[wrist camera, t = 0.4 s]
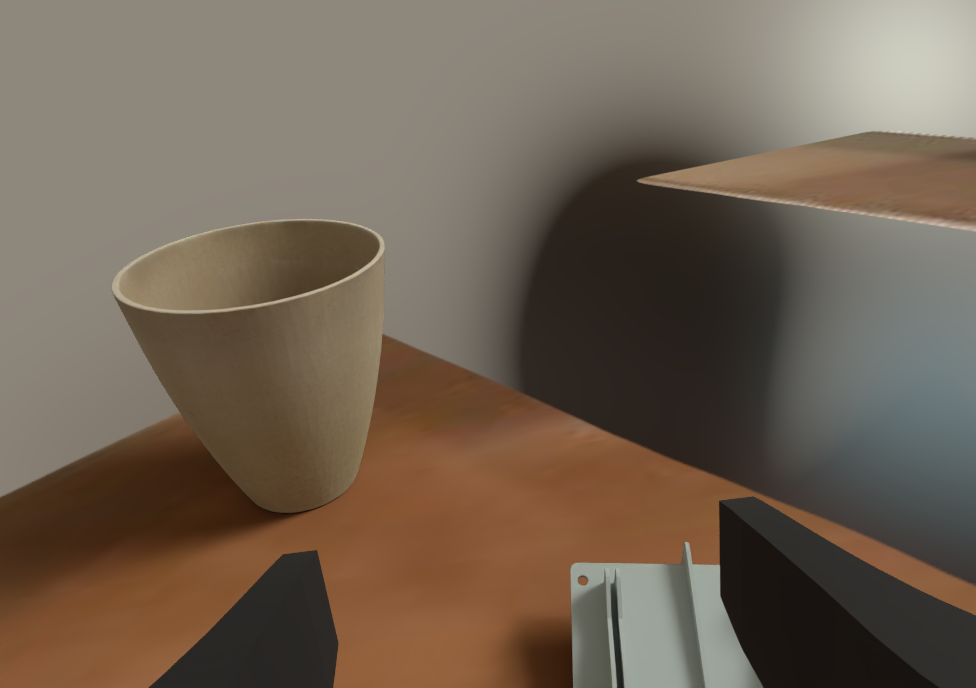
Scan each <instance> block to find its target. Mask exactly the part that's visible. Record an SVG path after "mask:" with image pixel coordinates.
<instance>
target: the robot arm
mask: <svg viewBox="0 0 976 688" xmlns="http://www.w3.org/2000/svg"><path fill="white" fill-rule="evenodd" d="M719 518H720V597H721V600H722V602H723V605H724V607H725V610H726V612H727V614H728V617H729V619H730V622H731V624H732V627H733V629H734V632H735V634H736V636H737V639H738V641H739V643H740V646H741V648H742V650H743V652H744V654H745V655H746V657H747V659H748V661H749V663H750V664H751V666H752V668H753V670H754V672H755V673H756V675H757V677H758V679H759V680H760V682H761V684H762V686H763V687H764V688H976V616H975V615H973V614H971V613H969V612H966V611H964V610H962V609H959V608H957V607H955V606H953V605H950V604H948V603H946V602H944V601H941V600H939V599H937V598H935V597H933V596H931V595H928V594H926V593H924V592H922V591H920V590H918V589H916V588H914V587H912V586H910V585H908V584H906V583H904V582H902V581H900V580H898V579H897V578H895V577H893V576H891V575H889V574H887V573H885V572H883V571H881V570H879V569H877V568H875V567H874V566H872V565H870V564H868V563H866V562H864V561H863V560H861V559H859V558H857V557H855V556H854V555H852V554H850V553H848V552H847V551H845V550H843V549H842V548H840V547H838V546H836V545H835V544H833V543H831V542H830V541H828V540H826V539H824V538H823V537H821V536H819V535H818V534H816V533H814V532H813V531H811V530H809V529H808V528H806V527H805V526H803V525H801V524H800V523H798V522H796V521H795V520H793V519H791V518H790V517H788V516H786V515H785V514H783V513H781V512H780V511H778V510H777V509H775V508H773V507H771V506H770V505H768V504H766V503H765V502H763V501H761V500H759V499H757V498H755V497H746V498H737V499H729V500H721V501H719ZM337 651H338V640H337V635H336V631H335V627H334V622H333V618H332V614H331V609H330V605H329V600H328V596H327V592H326V587H325V583H324V579H323V574H322V570H321V566H320V561H319V557H318V553H317V550H315V551H307V552H299V553H291V554H283V555H282V556H281V557H280V558H279V559H278V560H277V561H276V562H275V563H274V564H273V565H272V566H271V567H270V568H269V569H268V570H267V571H266V572H265V573H264V574H263V575H262V576H261V577H260V579H259V580H258V581H257V582H256V583H255V584H254V585H253V586H252V587H251V588H250V589H249V590H248V591H247V592H246V593H245V594H244V596H243V597H242V598H241V599H240V600H239V601H238V602H237V603H236V604H235V605H234V606H233V607H232V608H231V609H230V610H229V611H228V612H227V613H226V614H225V615H224V616H223V617H222V618H221V619H220V620H219V621H218V623H217V624H216V625H215V626H214V627H213V628H212V629H211V630H210V631H209V632H208V633H207V634H206V635H205V636H204V637H202V638H201V639H200V640H199V641H198V642H197V643H196V644H195V645H194V646H193V647H192V648H191V649H190V650H189V651H188V652H187V653H186V654H185V655H184V656H182V657H181V658H180V659H179V660H178V661H177V662H176V663H175V664H174V665H173V666H172V667H171V668H170V669H169V670H168V671H167V672H166V673H165V674H164V675H162V676H161V677H160V678H159V679H158V680H157V681H156V682H154V683H153V684H152V685H151V686H150V687H149V688H333V683H334V676H335V668H336V659H337Z"/></svg>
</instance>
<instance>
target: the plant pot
mask: <svg viewBox="0 0 976 688" xmlns="http://www.w3.org/2000/svg"><path fill="white" fill-rule="evenodd" d="M384 263H385V244H384V241H383V239H382V237H381V236H380V235H379V234H377V233H376V232H375V231H373V230H371V229H369V228H366V227H364V226H361V225H358V224H353V223H349V222H342V221H334V220H321V219H287V220H273V221H264V222H255V223H249V224H243V225H235V226H230V227H225V228H221V229H216V230H212V231H208V232H204V233H200V234H197V235H193V236H190V237H187V238H183V239H181V240H178V241H175V242H172V243H170V244H167V245H164V246H162V247H160V248H157V249H155V250H153V251H151V252H149V253H146V254H144V255H142V256H141V257H139V258H137V259H136V260H134V261H132V262H131V263H129V264H128V265H127V266H125V267H124V268H123V269H121V270H120V272H119V273H118V274H117V275H116V276H115V278H114V280H113V282H112V285H111V290H112V293H113V295H114V297H115V299H116V301H117V303H118V305H119V307H120V309H121V310H122V312H123V314H124V316H125V318H126V320H127V322H128V324H129V326H130V328H131V330H132V332H133V333H134V335H135V337H136V339H137V341H138V343H139V345H140V347H141V348H142V350H143V352H144V354H145V356H146V357H147V359H148V361H149V362H150V364H151V366H152V368H153V370H154V371H155V373H156V375H157V376H158V378H159V380H160V382H161V383H162V385H163V386H164V388H165V390H166V391H167V393H168V395H169V396H170V397H171V399H172V401H173V402H174V404H175V405H176V407H177V408H178V410H179V411H180V413H181V414H182V416H183V417H184V419H185V420H186V421H187V423H188V424H189V426H190V427H191V429H192V430H193V431H194V433H195V434H196V435H197V437H198V438H199V439H200V441H201V442H202V443H203V445H204V446H205V447H206V449H207V450H208V451H209V452H210V454H211V455H212V456H213V458H214V459H215V460H216V461H217V462H218V464H219V465H220V466H221V467H222V468H223V470H224V471H225V472H226V473H227V474H228V475H229V476H230V478H231V479H232V480H233V481H234V482H235V483H236V484H237V485H238V486H239V488H240V489H241V490H242V491H243V492H244V493H245V494H246V495H247V496H248V497H249V498H250V499H251V500H252V501H253V502H254V503H255V504H256V505H258V506H260V507H261V508H263V509H266V510H269V511H273V512H279V513H294V512H302V511H306V510H310V509H314V508H317V507H320V506H322V505H325V504H327V503H329V502H330V501H332V500H334V499H336V498H337V497H339V496H340V495H341V494H343V493H344V492H345V491H346V490H347V489H348V488H349V487H350V486H351V485H352V483H353V482H354V480H355V478H356V476H357V473H358V469H359V466H360V462H361V459H362V455H363V451H364V447H365V443H366V438H367V434H368V429H369V425H370V420H371V415H372V409H373V404H374V398H375V392H376V385H377V378H378V370H379V362H380V353H381V343H382V331H383V313H384V273H385V272H384V270H385V264H384Z"/></svg>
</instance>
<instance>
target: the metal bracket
mask: <svg viewBox="0 0 976 688" xmlns="http://www.w3.org/2000/svg"><path fill="white" fill-rule="evenodd" d="M580 577H585V578H587V579H588V584H587V585H584V586H582V585H580V584H579V583H578V579H579V578H580ZM571 610H572V657H573V688H764V687H763V686H762V684H761V682H760V680H759V679H758V677H757V675H756V673H755V672H754V670H753V668H752V666H751V664H750V663H749V661H748V659H747V657H746V655H745V654H744V652H743V650H742V648H741V646H740V643H739V641H738V639H737V636H736V634H735V632H734V629H733V627H732V624H731V622H730V619H729V617H728V614H727V612H726V610H725V607H724V605H723V602H722V600H721V597H720V565H692V560H691V553H690V546H689V543H687V542H684V547H683V555H682V562H681V564H622V563H575V564H573V565H572V566H571Z"/></svg>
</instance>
